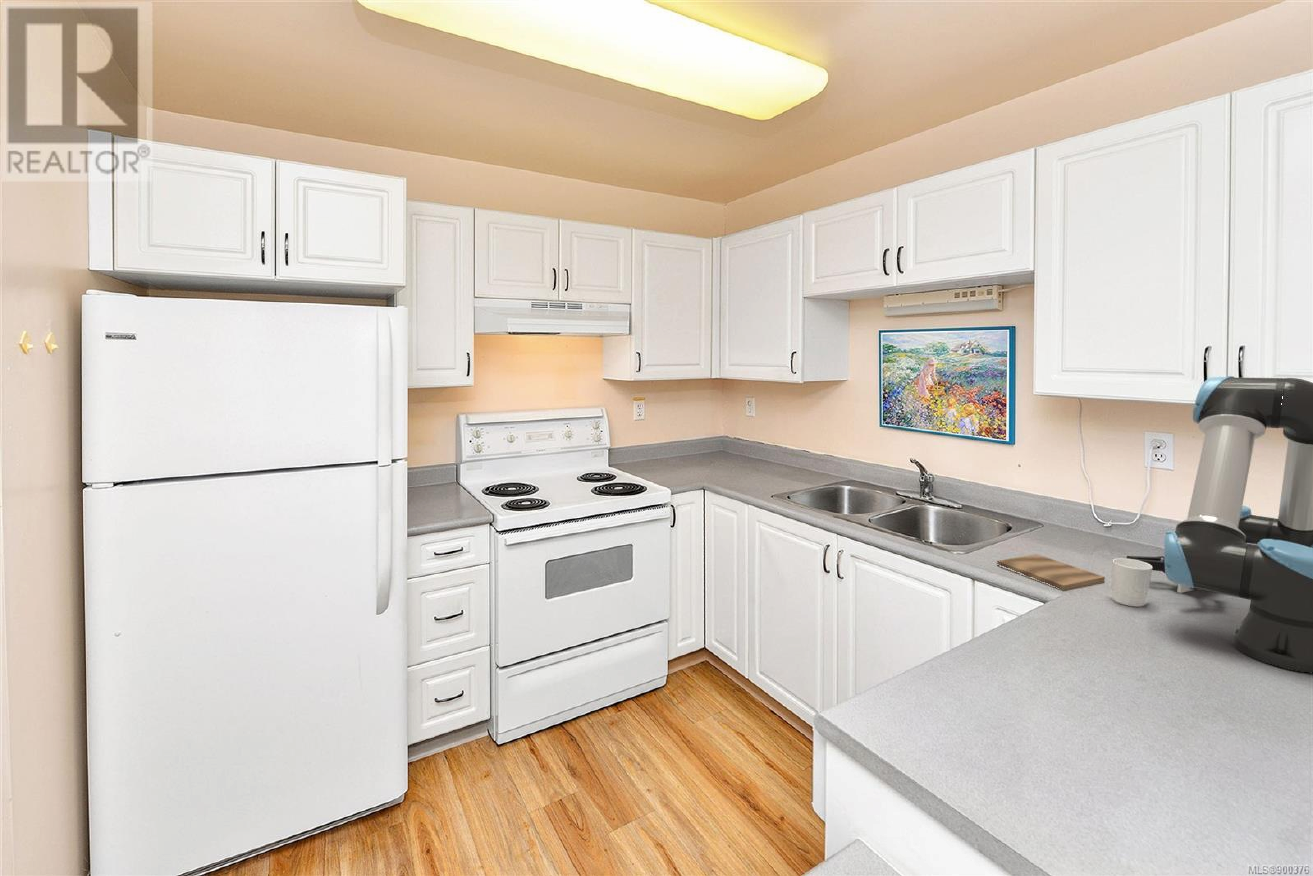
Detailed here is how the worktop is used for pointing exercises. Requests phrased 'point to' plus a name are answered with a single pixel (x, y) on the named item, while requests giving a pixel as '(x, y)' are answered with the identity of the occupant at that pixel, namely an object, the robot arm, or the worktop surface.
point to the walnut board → (1052, 571)
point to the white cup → (1130, 581)
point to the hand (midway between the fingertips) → (1148, 577)
